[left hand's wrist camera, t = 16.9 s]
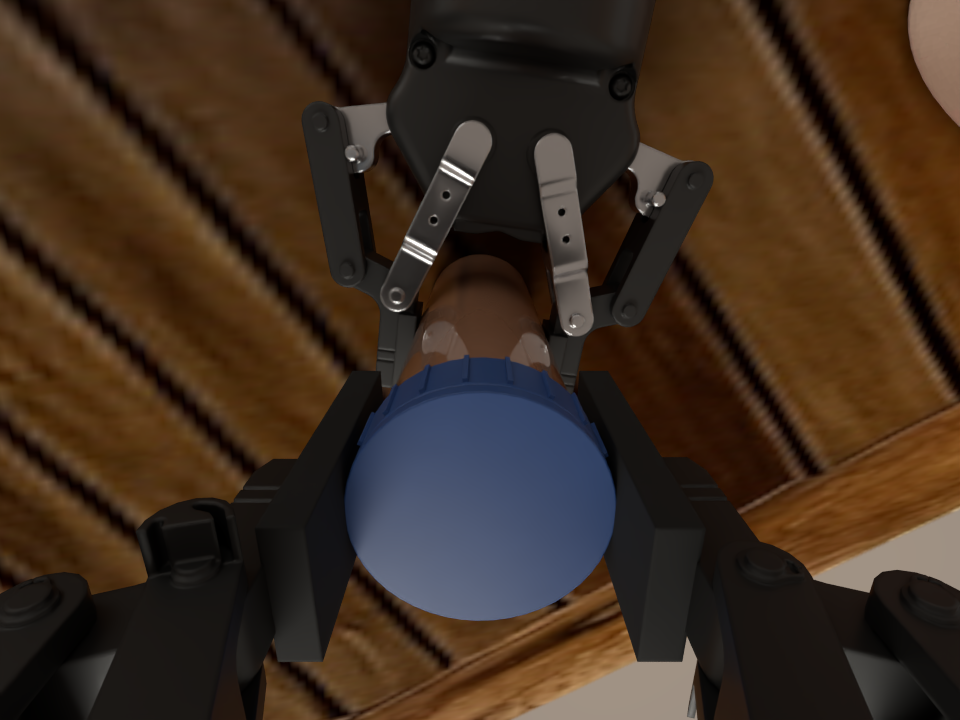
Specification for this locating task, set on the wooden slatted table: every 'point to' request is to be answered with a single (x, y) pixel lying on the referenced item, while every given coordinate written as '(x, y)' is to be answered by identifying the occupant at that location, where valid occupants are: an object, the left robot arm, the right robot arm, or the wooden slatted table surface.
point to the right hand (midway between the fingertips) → (471, 403)
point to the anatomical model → (938, 49)
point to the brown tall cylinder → (480, 319)
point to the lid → (480, 491)
